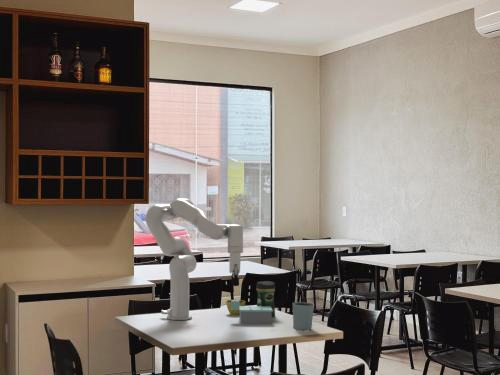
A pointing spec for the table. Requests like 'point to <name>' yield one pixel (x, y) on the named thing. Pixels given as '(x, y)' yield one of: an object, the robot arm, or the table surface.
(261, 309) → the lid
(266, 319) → the tub
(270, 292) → the coffee jar
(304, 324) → the grey-blue tapered cup
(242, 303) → the flower pot
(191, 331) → the table surface
